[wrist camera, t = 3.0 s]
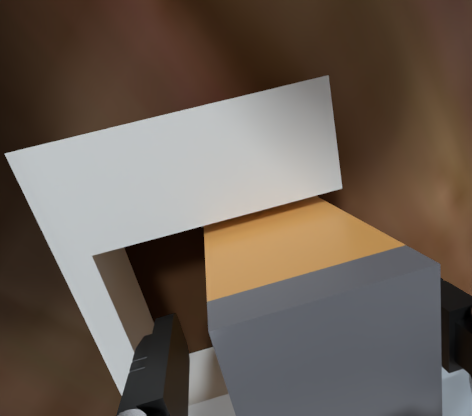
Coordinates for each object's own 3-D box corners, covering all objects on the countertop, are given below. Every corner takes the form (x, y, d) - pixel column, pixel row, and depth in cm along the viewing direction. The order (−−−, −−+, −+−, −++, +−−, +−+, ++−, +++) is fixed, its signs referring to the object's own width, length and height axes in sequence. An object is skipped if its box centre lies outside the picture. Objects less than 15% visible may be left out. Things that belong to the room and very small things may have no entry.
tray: (504, 301, 17) (554, 329, 15) (495, 433, 21) (534, 473, 18) (354, 347, 16) (380, 384, 14) (371, 475, 20) (394, 522, 18)
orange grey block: (302, 188, 13) (440, 263, 6) (322, 305, 15) (443, 477, 8) (203, 214, 13) (208, 331, 5) (236, 331, 15) (275, 535, 7)
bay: (297, 88, 12) (328, 75, 9) (340, 365, 17) (369, 413, 14) (53, 148, 11) (4, 153, 8) (169, 418, 16) (162, 480, 13)
